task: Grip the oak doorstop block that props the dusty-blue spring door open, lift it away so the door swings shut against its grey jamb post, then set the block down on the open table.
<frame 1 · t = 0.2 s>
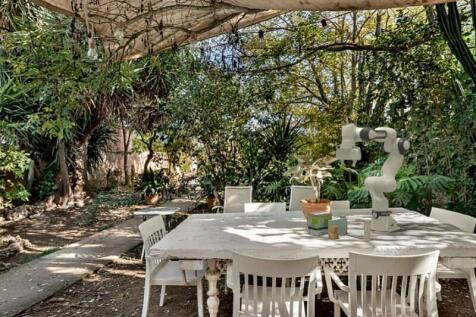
hand: (348, 166, 257), 48 cm above the table, tool pointing down, fingers open, 8 cm apart
hinge wall: (342, 233, 260), on the table
door: (337, 227, 254), point 6 cm above the table, hinge at 88.9°, touching doorstop
threshold: (355, 237, 249), on the table
tea box: (319, 233, 263), on the table
jamb: (367, 240, 240), on the table
doorstop: (333, 238, 247), on the table, touching door
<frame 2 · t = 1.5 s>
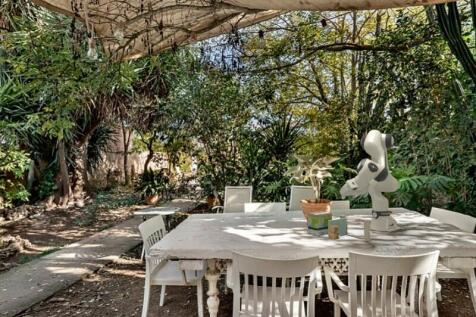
hand: (348, 197, 240), 28 cm above the table, tool tilted 45°, fingers open, 8 cm apart
nothing on the table moved.
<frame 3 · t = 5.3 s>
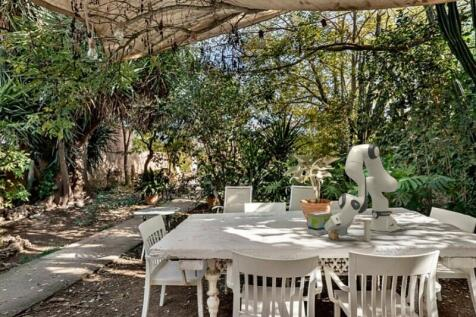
hand: (332, 231, 248), 4 cm above the table, tool tilted 45°, fingers closed on doorstop, 4 cm apart
door: (337, 227, 254), point 6 cm above the table, hinge at 88.6°
doorstop: (333, 238, 247), on the table, touching gripper
everything else where it was.
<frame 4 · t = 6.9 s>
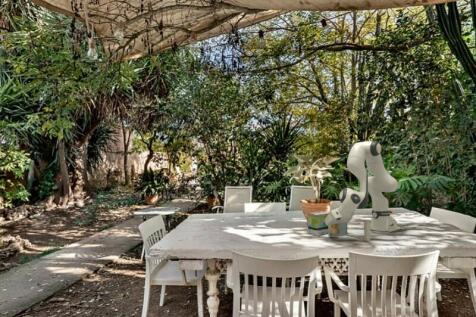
hand: (333, 225, 248), 8 cm above the table, tool tilted 45°, fingers closed on doorstop, 5 cm apart
door: (337, 227, 254), point 6 cm above the table, hinge at 87.8°, touching doorstop
doorstop: (334, 233, 247), point 3 cm above the table, touching door, gripper
everything else where it was.
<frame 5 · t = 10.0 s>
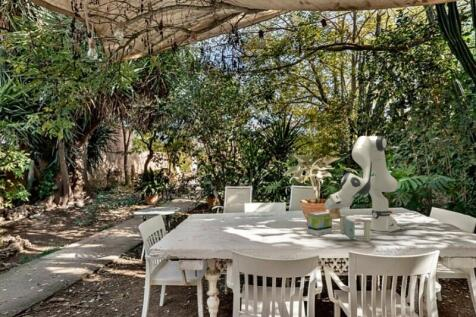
hand: (332, 210, 247), 19 cm above the table, tool tilted 45°, fingers closed on doorstop, 5 cm apart
door: (348, 228, 249), point 6 cm above the table, hinge at 26.2°
doorstop: (335, 219, 245), point 13 cm above the table, tilted 14°, touching gripper
everything else where it was.
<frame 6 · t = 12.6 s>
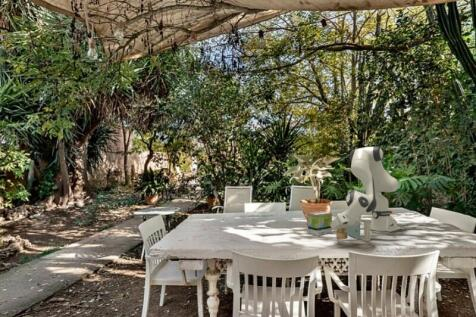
hand: (339, 230, 237), 8 cm above the table, tool tilted 45°, fingers closed on doorstop, 5 cm apart
door: (351, 228, 250), point 6 cm above the table, hinge at 11.8°
doorstop: (342, 239, 234), point 2 cm above the table, tilted 14°, touching gripper
everything else where it was.
when the fingers open (6 cm above the table, at t = 13.5 s): doorstop stays where it is, on the table.
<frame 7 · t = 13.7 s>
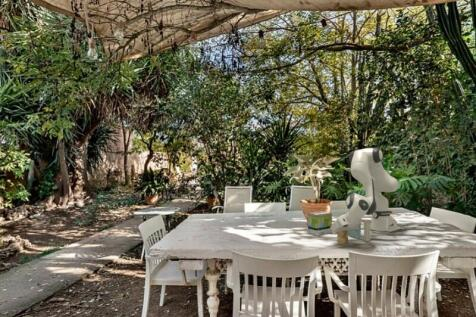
hand: (339, 232, 237), 6 cm above the table, tool tilted 45°, fingers open, 7 cm apart
door: (351, 228, 250), point 6 cm above the table, hinge at 10.5°
doorstop: (342, 242, 235), on the table
everything else where it was.
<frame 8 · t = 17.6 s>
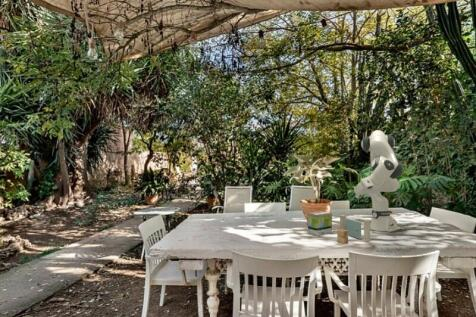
hand: (362, 196, 232), 29 cm above the table, tool tilted 45°, fingers open, 8 cm apart
door: (352, 228, 250), point 6 cm above the table, hinge at 9.6°
everything else where it was.
at the end: door at +10° (first picture: +89°); doorstop inside the target area (2.1 cm from its centre), on the table; the gripper is holding nothing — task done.
